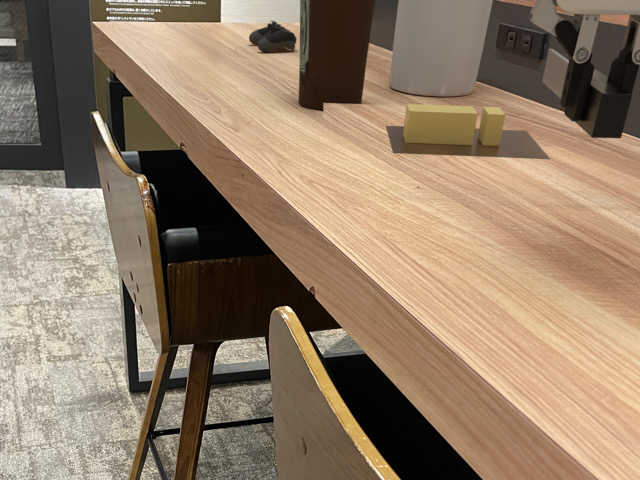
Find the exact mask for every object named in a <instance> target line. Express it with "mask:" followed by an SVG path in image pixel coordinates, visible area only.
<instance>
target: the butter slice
mask: <svg viewBox="0 0 640 480" xmlns="http://www.w3.org/2000/svg"><path fill="white" fill-rule="evenodd" d="M505 120H506V113H505V112H504V111H503V110H502V109H501V107H500V106H483V107H482V111H481V117H480V123H479V127H478V129H479V133H478V139H479V141H480V142H481V144H482V145H483V146H499V144H500V139H501V134H502V130H504V123H505Z"/></svg>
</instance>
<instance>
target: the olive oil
mask: <svg viewBox="0 0 640 480" xmlns="http://www.w3.org/2000/svg"><path fill="white" fill-rule="evenodd" d="M375 4H376V0H299V67H298V68H299V72H298V74H299V75H298V104H299V105H300V106H301V107H304V108H308V109H313V110H320V111H324V104H338V105H339V104H340V105H341V104H342V105H362V101H363V94H364V86H365V85H364V84H365V76H366V68H367V63H368V62H367V61H368V54H369V46H370V41H371V33H372V32H371V31H372V27H373V26H372V25H373V17H374V12H375V7H376V6H375Z"/></svg>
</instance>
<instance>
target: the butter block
mask: <svg viewBox="0 0 640 480" xmlns="http://www.w3.org/2000/svg"><path fill="white" fill-rule="evenodd" d="M478 114H479V112H478V111H477V110H476V109H475V107H474V106H473V105H451V104H450V105H447V104H445V105H444V104H420V103H417V104H416V103H406V107H405V114H404V122H403V126H404V129H403V137H404V140H405V143H423V144H450V145H472V144H473V138H474V133H475V129H476V127H477V121H478V116H479V115H478Z"/></svg>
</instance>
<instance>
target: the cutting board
mask: <svg viewBox="0 0 640 480" xmlns="http://www.w3.org/2000/svg"><path fill="white" fill-rule="evenodd" d="M385 128H386V132H387V136H388V140H389V143H390V147H391V151H392V154H399V155H400V154H401V155H424V156H426V155H428V156H450V157H451V156H454V157H455V156H456V157H482V158H503V159H504V158H507V159H509V158H510V159H531V160H534V159H536V160H551V158H550V157H549V156H548V154H547V153H546V151H544V149H543V148H542V147H541V146H540V145H539V143H538V142H536V140H535V139H534V138H533V137H532V135H531V134H530V133H529V131H527V130H518V129H517V130H516V129H502V134H501V139H500V144H499V146H483V145H482V144H481V142H480V141H479V139H478V133H479V128H475V133H474V138H473V144H472V145H450V144H423V143H405V140H404V137H403V129H404V125H385Z"/></svg>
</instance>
